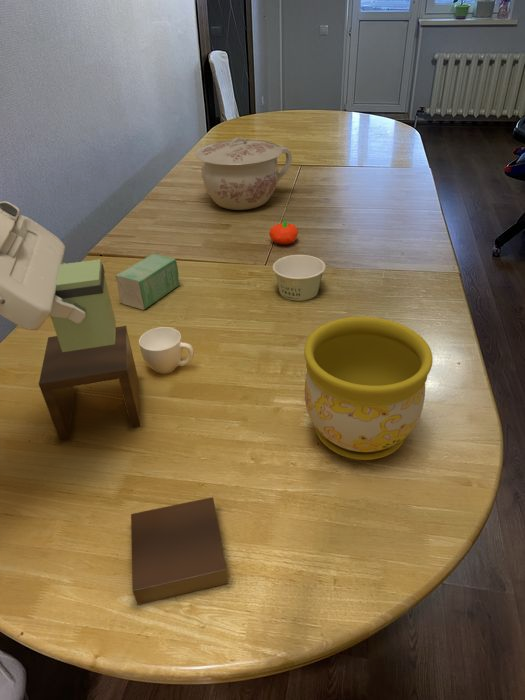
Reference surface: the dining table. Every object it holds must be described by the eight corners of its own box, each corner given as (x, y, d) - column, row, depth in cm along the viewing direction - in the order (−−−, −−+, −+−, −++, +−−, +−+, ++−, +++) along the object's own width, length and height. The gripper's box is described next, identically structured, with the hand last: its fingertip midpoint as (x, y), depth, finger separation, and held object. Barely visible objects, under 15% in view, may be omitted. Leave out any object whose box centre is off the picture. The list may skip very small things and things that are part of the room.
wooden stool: (140, 426, 86) (126, 369, 79) (59, 441, 84) (38, 384, 77) (138, 379, 97) (126, 325, 90) (66, 391, 94) (48, 337, 87)
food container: (267, 300, 119) (266, 274, 115) (281, 276, 128) (280, 252, 124) (318, 306, 115) (319, 280, 112) (329, 281, 125) (330, 257, 121)
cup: (153, 353, 103) (147, 325, 99) (201, 357, 101) (197, 329, 97) (138, 378, 97) (132, 348, 93) (189, 382, 95) (185, 352, 91)
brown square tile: (228, 583, 63) (226, 569, 61) (137, 605, 61) (132, 591, 60) (215, 510, 72) (213, 496, 70) (134, 527, 70) (130, 513, 68)
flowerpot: (438, 430, 83) (457, 347, 73) (371, 495, 73) (383, 409, 63) (349, 381, 94) (355, 303, 84) (280, 433, 84) (278, 351, 74)
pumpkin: (269, 237, 147) (269, 216, 144) (297, 237, 147) (298, 215, 143) (269, 248, 142) (268, 226, 138) (298, 248, 141) (298, 225, 137)
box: (181, 285, 126) (176, 256, 122) (145, 311, 117) (139, 281, 112) (157, 279, 129) (152, 251, 125) (120, 304, 120) (113, 275, 116)
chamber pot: (186, 214, 164) (178, 147, 152) (219, 187, 185) (214, 125, 173) (270, 222, 157) (268, 151, 145) (294, 192, 178) (294, 128, 166)
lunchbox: (116, 344, 70) (99, 279, 65) (61, 353, 69) (39, 287, 64) (116, 321, 75) (101, 258, 70) (65, 328, 74) (45, 265, 68)
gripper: (-25, 261, 53) (95, 327, 60) (10, 196, 69) (101, 254, 76) (-54, 305, 55) (65, 364, 62) (-14, 232, 71) (77, 285, 78)
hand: (85, 302), depth 69 cm, fingers closed on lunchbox, 6 cm apart
